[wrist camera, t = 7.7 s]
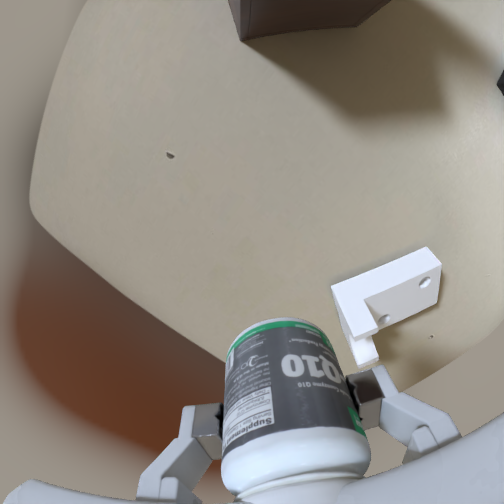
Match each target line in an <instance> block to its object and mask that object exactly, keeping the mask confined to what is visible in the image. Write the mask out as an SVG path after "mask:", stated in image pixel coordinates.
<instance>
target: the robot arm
mask: <svg viewBox="0 0 504 504" xmlns="http://www.w3.org/2000/svg"><path fill="white" fill-rule="evenodd" d="M345 381H346V384H347V386H348V389H349V392H350V395H351V397H352V399H353V402H354V405H355V407H356V410H357V412H358V416H359V418H360V421H361V424H362V426H363V429H364V430H367V429H370V428H374V427H377V426H379V427H380V428H381V429H382V430H384V431H385V432H387V433H388V434H389V435H391V436H392V437H394V438H395V439H397V440H398V441H399V442H401V443H402V444H404V445H405V446H407V447H408V448H407V451H406V454H405V456H404V459H403V462H402V463H403V465H401V466H398V467H396V468H393V469H390V470H388V471H385V472H382V473H379V474H376V475H373V476H370V477H367V478H364V479H360V480H357V481H354V482H350V483H348V484H346V485H344V486H343V487H342V488H341V490H340V492H339V496H338V499H337V502H336V504H504V412H503V413H502V414H500V415H499V416H497V417H496V418H494V419H493V420H491V421H489V422H488V423H486V424H484V425H483V426H481V427H479V428H478V429H476V430H474V431H472V432H471V433H469V434H467V435H465V436H464V437H462V436H461V434H460V432H459V431H458V429H457V427H456V425H455V424H454V422H453V420H452V418H451V417H450V415H449V414H448V413H446V412H444V411H442V410H439V409H437V408H435V407H433V406H431V405H429V404H427V403H424V402H422V401H420V400H418V399H416V398H414V397H412V396H410V395H408V394H406V393H404V392H400V393H399V392H398V390H397V388H396V386H395V384H394V383H393V381H392V379H391V377H390V375H389V373H388V371H387V370H386V368H385V366H384V365H383V364H382V365H379V366H376V367H373V368H369V369H366V370H363V371H360V372H357V373H353V374H350V375H347V376H346V377H345ZM223 420H224V405H223V404H222V403H213V404H202V405H193V406H185V407H184V408H183V411H182V417H181V424H180V430H179V437H178V438H177V439H174V440H173V441H172V442H171V443H170V444H169V446H168V447H167V448H166V449H165V450H164V451H163V452H162V453H161V454H160V455H159V456H158V457H157V459H155V461H154V462H153V463H152V464H151V465H150V466H149V467H148V468H147V469H146V470H145V471H144V472H143V473H142V474H141V476H140V481H139V486H138V491H137V496H136V501H135V500H126V499H119V498H112V497H106V496H100V495H95V494H90V493H85V492H80V491H76V490H72V489H68V488H64V487H59V486H56V485H53V484H49V483H46V482H42V481H39V480H36V479H30V480H28V481H26V482H25V483H23V484H21V485H20V486H19V487H17V488H16V489H15V490H13V491H12V492H10V494H9V495H8V496H7V498H6V499H5V501H4V503H3V504H202V501H201V500H200V499H199V498H198V497H197V496H196V495H194V494H193V493H192V490H193V489H194V487H195V486H196V485H197V483H198V482H199V480H200V479H201V477H202V476H203V474H204V473H205V471H206V470H207V468H208V467H209V465H210V464H211V462H212V460H216V459H222V444H223ZM218 504H254V503H251V502H235V503H218Z"/></svg>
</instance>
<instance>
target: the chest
mask: <svg viewBox="0 0 504 504" xmlns="http://www.w3.org/2000/svg"><path fill="white" fill-rule="evenodd" d="M390 1H391V0H228V2H229V5H230V9H231V12H232V15H233V18H234V22H235V25H236V28H237V32H238V35H239V39H240V41H243V40H248V39H253V38H258V37H264V36H270V35H276V34H282V33H289V32H297V31H306V30H315V29H327V28H344V27H357V26H359V25H360V24H361V23H363V22H364V21H365V20H366V19H368V18H369V17H370V16H371V15H373V14H374V13H375V12H377V11H378V10H379V9H380V8H382V7H383V6H384V5H386V4H387V3H388V2H390Z"/></svg>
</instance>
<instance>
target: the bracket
mask: <svg viewBox="0 0 504 504" xmlns="http://www.w3.org/2000/svg"><path fill="white" fill-rule="evenodd" d="M441 267H442V264H441V263H440V261H439V260H438V259H437V258H436V257H435V256H434V254H433V253H432V252H431V251H430V250H429V249H428V248H427V246H426V247H424V248H422V249H419V250H417V251H415V252H413V253H410V254H408V255H406V256H403V257H401V258H399V259H396V260H394V261H392V262H389V263H387V264H384V265H382V266H380V267H377V268H375V269H372V270H370V271H368V272H365V273H363V274H360V275H358V276H355V277H353V278H350V279H348V280H345V281H343V282H340V283H337V284H335V285H332V286H331V289H332V293H333V297H334V302H335V306H336V308H337V310H338V314H339V318H340V323H341V327H342V330H343V332H344V334H345V337H346V339H347V342H348V344H349V346H350V349H351V351H352V354H353V356H354V359H355V361H356V364H357V366H358V368H362V367H364V366H367V365H369V364H371V363H374V362H376V361H379V356H378V353H377V351H376V348H375V346H374V343H373V339H372V336H371V335H373V334H375V333H378V330H380V329H382V328H385V327H387V326H389V325H391V324H394V323H396V322H398V321H400V320H403V319H405V318H407V317H409V316H411V315H413V314H415V313H417V312H420V311H422V310H424V309H426V308H428V307H430V306H432V305H434V304H436V303H437V298H438V291H439V284H440V276H441Z"/></svg>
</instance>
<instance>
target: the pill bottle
mask: <svg viewBox="0 0 504 504" xmlns="http://www.w3.org/2000/svg"><path fill="white" fill-rule="evenodd" d="M370 461H371V451H370V447H369V443H368V440H367V437H366V434H365V432H364V429H363V426H362V424H361V421H360V418H359V416H358V412H357V410H356V407H355V405H354V402H353V399H352V397H351V395H350V392H349V389H348V386H347V384H346V381H345V378H344V376H343V373H342V371H341V368H340V366H339V363H338V360H337V357H336V355H335V352H334V350H333V347H332V345H331V343H330V341H329V339H328V338H327V336H326V335H325V333H324V332H323V331H322V330H321V329H320V328H318V327H317V326H316V325H314V324H312V323H310V322H308V321H306V320H303V319H299V318H292V317H282V318H274V319H269V320H265V321H262V322H259V323H256V324H254V325H252V326H250V327H249V328H247V329H246V330H244V331H243V332H242V333H241V334H239V335H238V336H237V338H236V339H235V340H234V342H233V343H232V345H231V346H230V349H229V351H228V354H227V359H226V375H225V396H224V420H223V444H222V466H221V473H222V474H221V475H222V480H223V483H224V485H225V486H226V488H227V489H228V490H229V491H230V492H231V493H232V494H233V495H235V496H236V498H235V500H234V502H233V503H235V502H251V503H254V504H336V502H337V499H338V496H339V492H340V490H341V488H342V487H343V486H344V485H346V484H348V483H350V482H354V481H357V480H360V479H364V478H365V477H364V476H363V475H364V474H365V472H366V471H367V469H368V467H369V464H370Z"/></svg>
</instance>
